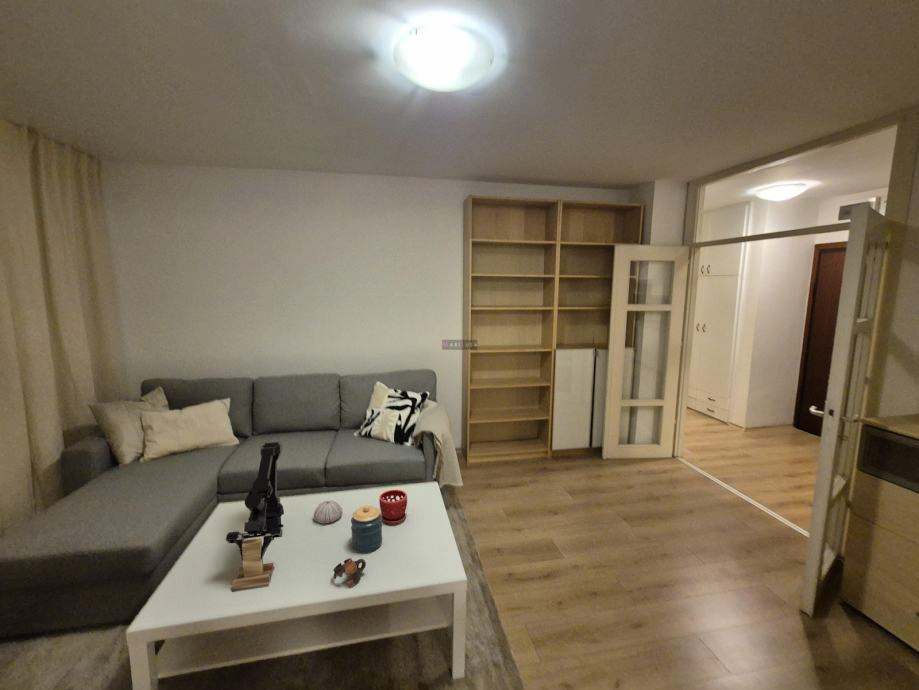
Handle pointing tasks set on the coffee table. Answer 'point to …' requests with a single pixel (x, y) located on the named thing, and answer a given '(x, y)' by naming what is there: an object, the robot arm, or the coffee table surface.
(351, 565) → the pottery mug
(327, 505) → the sea urchin shell
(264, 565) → the mating board
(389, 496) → the plant pot
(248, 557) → the wooden block
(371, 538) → the canister
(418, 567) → the coffee table surface
